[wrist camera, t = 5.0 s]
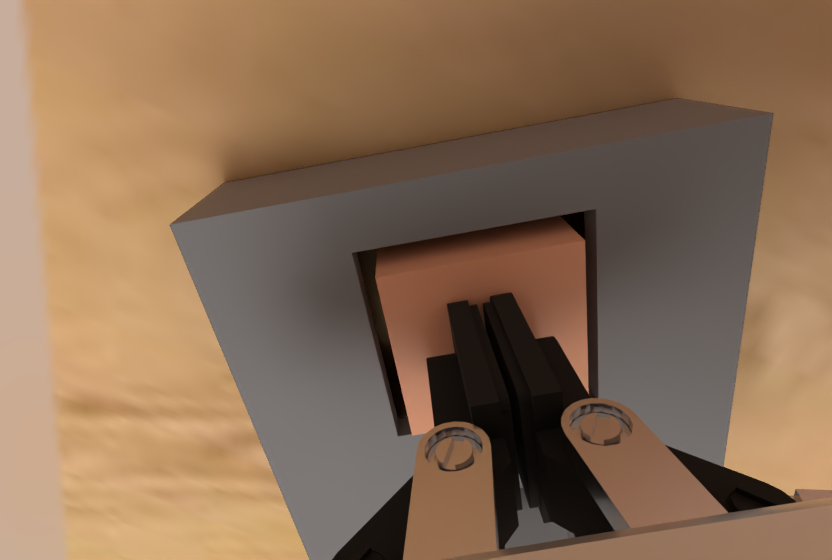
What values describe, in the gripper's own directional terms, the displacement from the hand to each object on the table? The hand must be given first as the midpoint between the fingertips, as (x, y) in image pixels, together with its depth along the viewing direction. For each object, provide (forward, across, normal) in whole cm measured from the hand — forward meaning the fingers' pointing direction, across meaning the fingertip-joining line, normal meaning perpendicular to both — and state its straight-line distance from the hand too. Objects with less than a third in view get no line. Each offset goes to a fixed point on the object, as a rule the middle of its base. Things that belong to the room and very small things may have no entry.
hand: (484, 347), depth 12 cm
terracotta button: (+4, 0, 0) cm, 4 cm away
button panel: (+5, 0, +9) cm, 10 cm away
